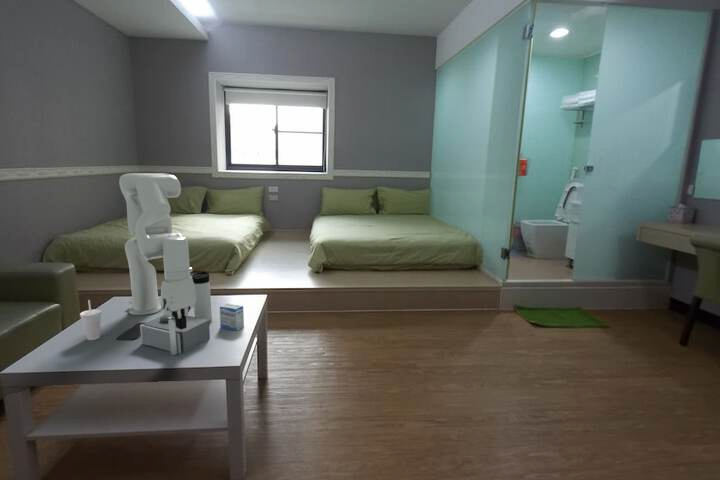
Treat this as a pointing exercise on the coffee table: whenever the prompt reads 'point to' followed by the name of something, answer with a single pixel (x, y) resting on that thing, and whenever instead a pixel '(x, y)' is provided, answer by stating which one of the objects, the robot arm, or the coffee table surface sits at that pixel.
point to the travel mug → (202, 295)
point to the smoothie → (91, 322)
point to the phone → (131, 333)
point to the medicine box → (231, 317)
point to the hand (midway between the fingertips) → (181, 327)
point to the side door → (162, 338)
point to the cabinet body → (185, 330)
